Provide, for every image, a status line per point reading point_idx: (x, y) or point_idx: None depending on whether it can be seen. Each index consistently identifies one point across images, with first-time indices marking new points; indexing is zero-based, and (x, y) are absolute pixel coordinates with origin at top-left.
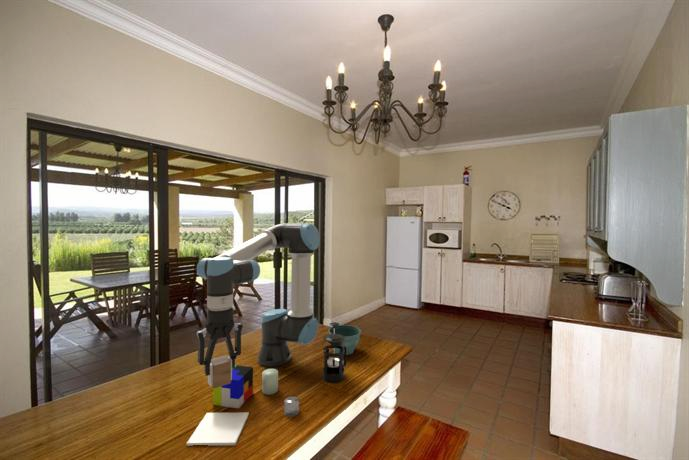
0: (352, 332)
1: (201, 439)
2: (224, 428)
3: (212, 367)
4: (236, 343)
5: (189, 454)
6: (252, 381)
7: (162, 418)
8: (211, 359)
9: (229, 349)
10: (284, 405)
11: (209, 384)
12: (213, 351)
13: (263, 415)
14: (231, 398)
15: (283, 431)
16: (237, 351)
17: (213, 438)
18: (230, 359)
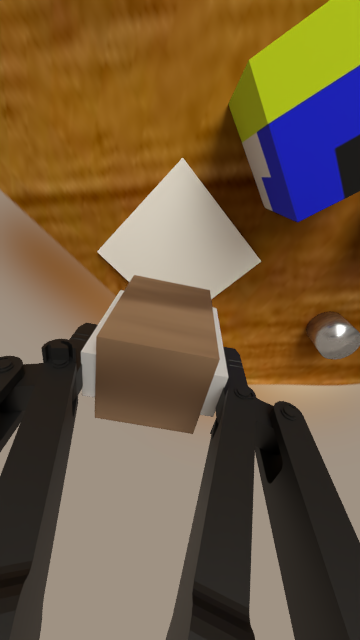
0: None
1: (127, 265)
2: (182, 271)
3: None
4: (280, 526)
5: (98, 279)
6: None
7: (60, 29)
8: (108, 346)
9: (200, 490)
10: (319, 331)
11: None
12: (62, 489)
13: (278, 289)
14: (262, 183)
15: (260, 357)
16: (259, 462)
17: None
18: (208, 410)
